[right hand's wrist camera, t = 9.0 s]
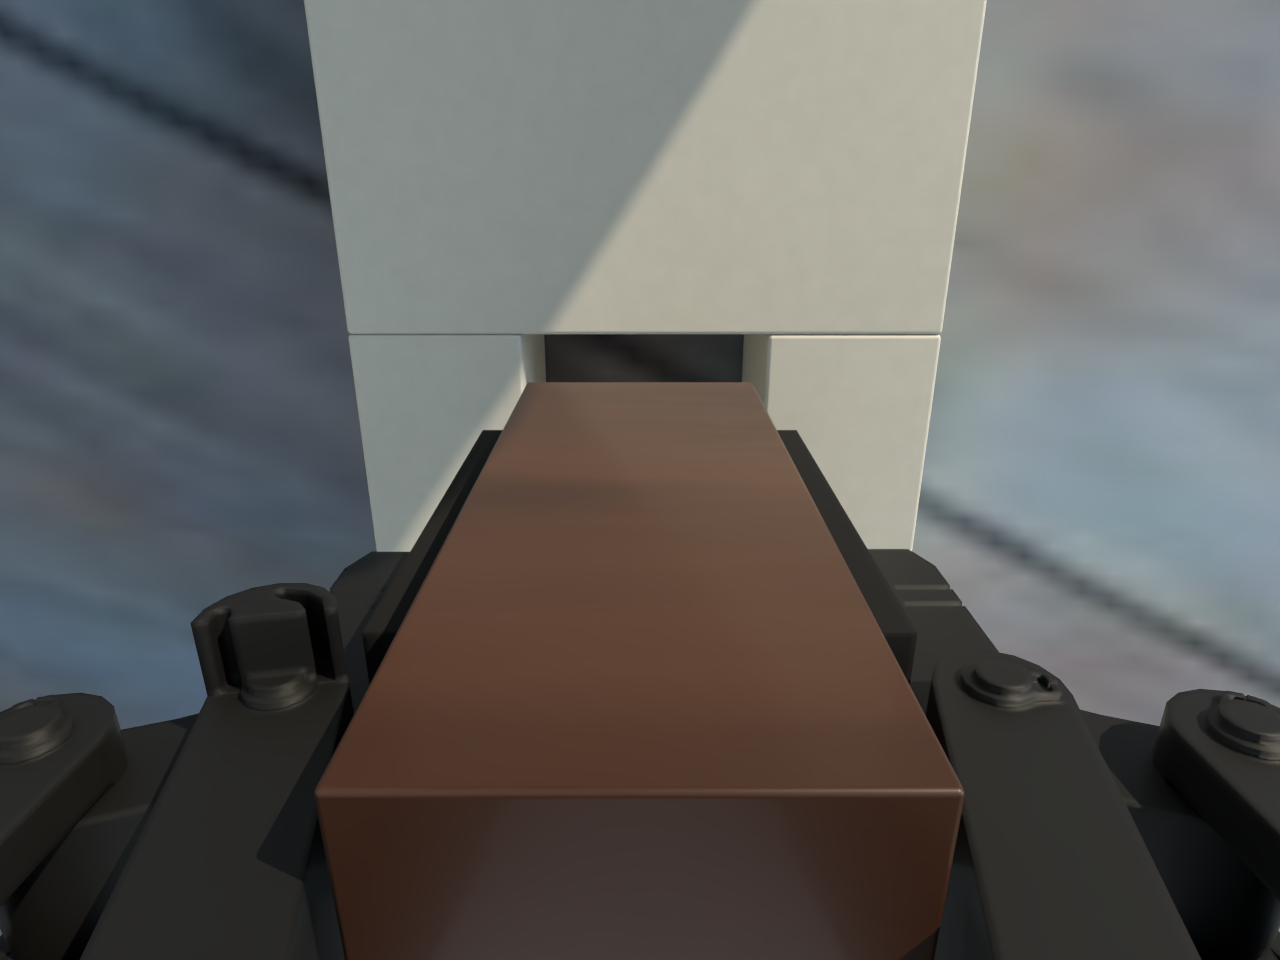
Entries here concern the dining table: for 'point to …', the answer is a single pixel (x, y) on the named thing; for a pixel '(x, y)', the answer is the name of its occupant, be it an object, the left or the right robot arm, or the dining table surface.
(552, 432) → the peg
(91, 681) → the dining table surface
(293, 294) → the dining table surface
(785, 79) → the peg board
